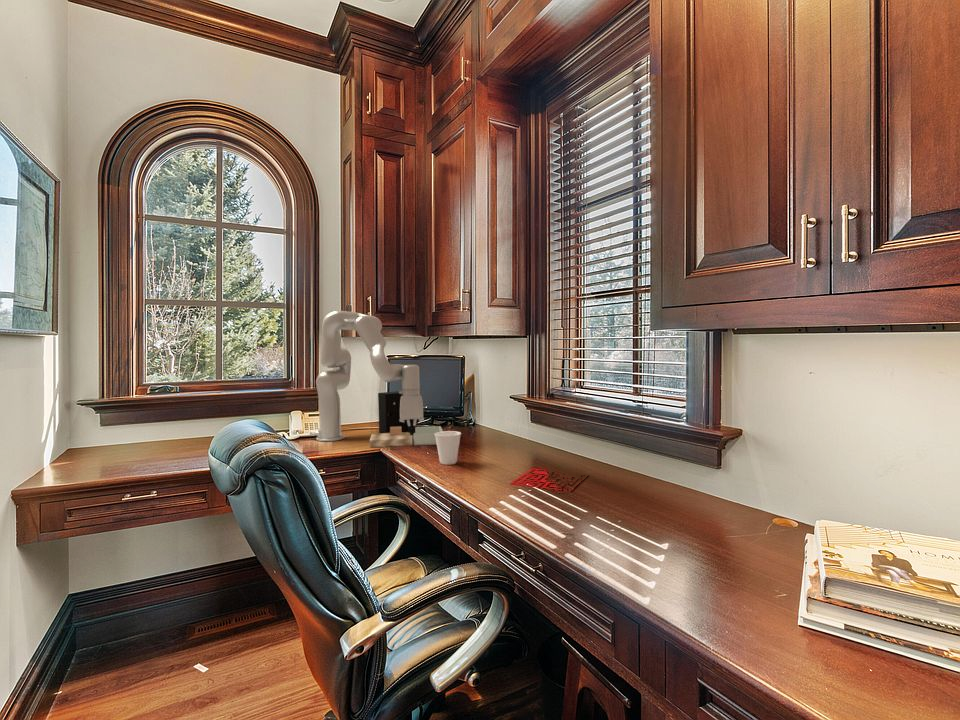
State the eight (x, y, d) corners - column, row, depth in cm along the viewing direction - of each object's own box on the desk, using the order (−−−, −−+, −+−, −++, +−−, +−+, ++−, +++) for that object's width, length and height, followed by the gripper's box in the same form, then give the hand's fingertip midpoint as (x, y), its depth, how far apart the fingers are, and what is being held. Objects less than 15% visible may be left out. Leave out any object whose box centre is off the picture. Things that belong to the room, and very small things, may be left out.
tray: (413, 445, 217) (413, 434, 217) (412, 438, 234) (412, 427, 234) (443, 444, 219) (443, 432, 219) (440, 436, 236) (440, 426, 236)
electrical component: (408, 428, 258) (407, 389, 257) (418, 431, 250) (418, 391, 249) (377, 433, 247) (376, 392, 246) (387, 436, 239) (386, 394, 238)
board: (369, 447, 215) (369, 440, 215) (371, 440, 230) (371, 433, 230) (412, 445, 218) (412, 438, 218) (411, 438, 233) (411, 432, 233)
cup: (462, 459, 192) (462, 430, 191) (460, 466, 182) (460, 435, 181) (436, 459, 192) (435, 430, 191) (433, 466, 182) (432, 436, 181)
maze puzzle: (509, 485, 159) (509, 483, 159) (532, 470, 176) (532, 468, 176) (571, 493, 150) (571, 491, 150) (588, 476, 167) (588, 474, 167)
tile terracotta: (390, 435, 225) (390, 428, 225) (390, 433, 230) (390, 426, 230) (401, 434, 226) (401, 428, 226) (401, 432, 231) (401, 426, 231)
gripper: (393, 394, 216) (394, 437, 217) (428, 393, 218) (429, 435, 219) (393, 392, 223) (394, 433, 224) (427, 391, 226) (428, 432, 226)
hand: (412, 434), depth 222 cm, fingers closed
